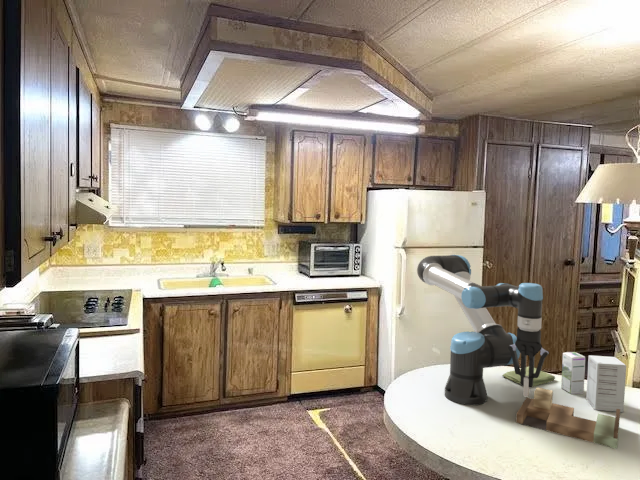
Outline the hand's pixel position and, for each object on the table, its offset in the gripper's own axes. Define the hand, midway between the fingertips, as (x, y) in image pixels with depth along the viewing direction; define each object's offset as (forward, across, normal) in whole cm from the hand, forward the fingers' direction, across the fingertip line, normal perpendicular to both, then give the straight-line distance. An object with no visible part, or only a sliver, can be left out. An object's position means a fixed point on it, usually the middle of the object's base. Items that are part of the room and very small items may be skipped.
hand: (526, 395), depth 163 cm
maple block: (+2, +5, 0) cm, 6 cm away
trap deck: (+5, +13, -4) cm, 15 cm away
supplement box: (+6, +22, +20) cm, 31 cm away
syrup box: (+6, +11, +28) cm, 31 cm away
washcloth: (+6, -5, +31) cm, 32 cm away
